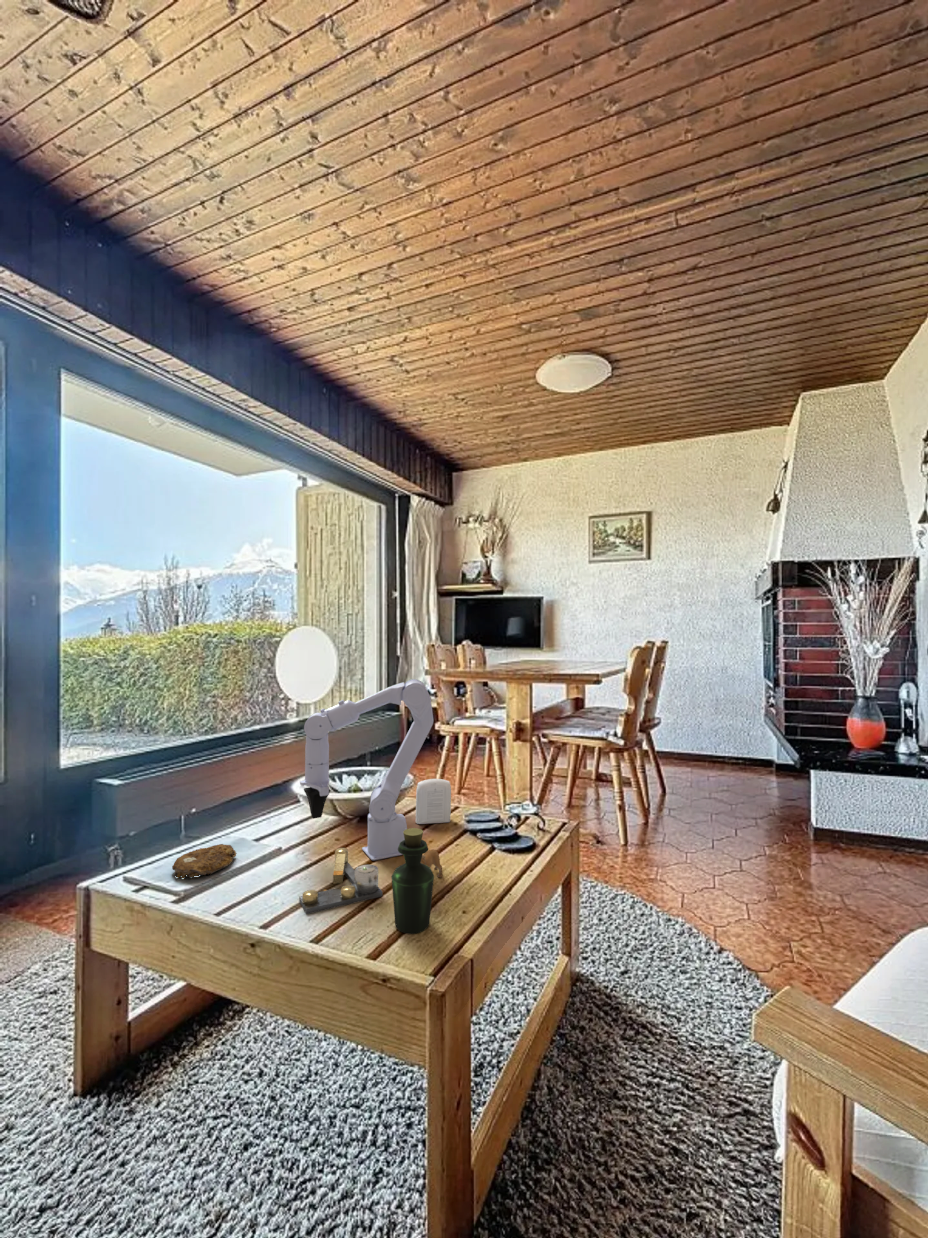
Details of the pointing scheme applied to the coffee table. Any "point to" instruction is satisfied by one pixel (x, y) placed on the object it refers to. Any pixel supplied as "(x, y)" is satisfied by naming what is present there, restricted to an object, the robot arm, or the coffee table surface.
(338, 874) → the lever
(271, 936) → the coffee table surface
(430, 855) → the lion figurine
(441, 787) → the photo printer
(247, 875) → the coffee table surface
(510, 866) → the coffee table surface
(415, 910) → the potion bottle
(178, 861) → the decorative rock
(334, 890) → the levelling base
